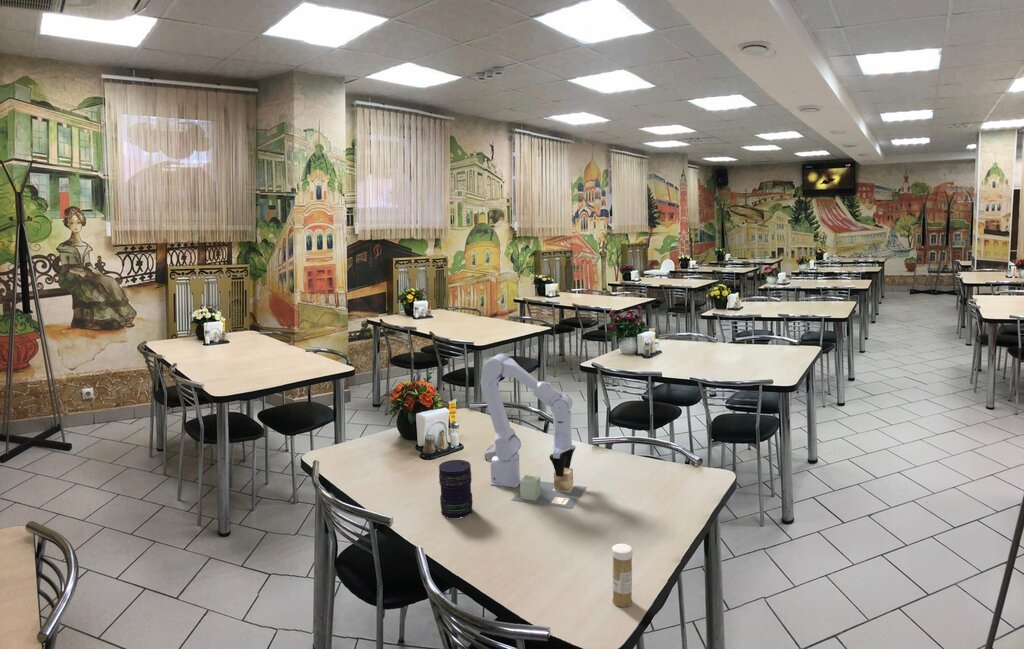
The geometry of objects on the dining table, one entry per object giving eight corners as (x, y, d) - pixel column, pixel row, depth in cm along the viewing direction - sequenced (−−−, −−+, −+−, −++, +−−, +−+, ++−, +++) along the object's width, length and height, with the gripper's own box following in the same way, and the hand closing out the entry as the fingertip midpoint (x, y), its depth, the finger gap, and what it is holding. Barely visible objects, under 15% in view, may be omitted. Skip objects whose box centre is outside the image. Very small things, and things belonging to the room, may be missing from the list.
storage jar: (447, 521, 191) (445, 474, 188) (436, 509, 199) (433, 463, 197) (478, 514, 195) (476, 467, 193) (465, 502, 204) (463, 457, 202)
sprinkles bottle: (609, 598, 149) (609, 544, 147) (628, 595, 150) (628, 541, 148) (616, 609, 145) (616, 553, 143) (635, 606, 146) (635, 551, 143)
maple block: (554, 489, 211) (553, 472, 210) (558, 484, 216) (558, 467, 215) (568, 491, 209) (568, 474, 208) (573, 485, 214) (572, 468, 213)
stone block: (484, 466, 240) (509, 461, 238) (481, 454, 239) (506, 449, 237) (490, 456, 251) (515, 451, 249) (488, 444, 251) (512, 440, 249)
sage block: (520, 498, 205) (520, 481, 204) (526, 492, 209) (525, 475, 208) (535, 500, 203) (534, 482, 202) (540, 494, 207) (540, 477, 207)
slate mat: (511, 500, 204) (511, 499, 204) (529, 480, 220) (529, 479, 220) (571, 508, 197) (571, 508, 197) (586, 487, 213) (586, 486, 212)
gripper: (567, 440, 201) (568, 481, 203) (580, 426, 215) (580, 465, 217) (546, 438, 204) (547, 478, 206) (560, 424, 217) (560, 463, 219)
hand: (563, 471), depth 212 cm, fingers open, 7 cm apart
